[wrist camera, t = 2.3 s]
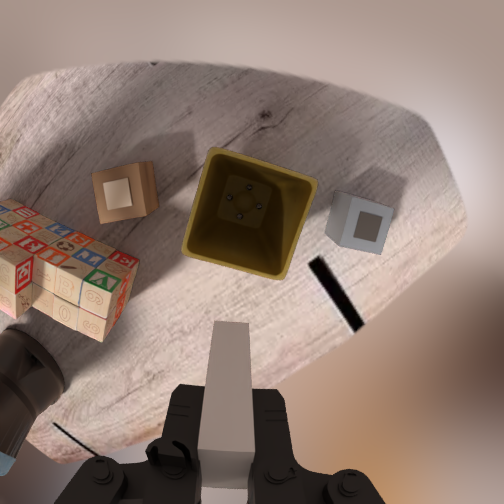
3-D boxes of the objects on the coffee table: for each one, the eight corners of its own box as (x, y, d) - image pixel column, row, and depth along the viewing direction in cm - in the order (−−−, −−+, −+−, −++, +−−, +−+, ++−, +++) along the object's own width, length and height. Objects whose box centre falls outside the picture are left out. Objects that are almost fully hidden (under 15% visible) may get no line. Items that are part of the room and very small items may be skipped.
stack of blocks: (141, 258, 32) (100, 310, 20) (129, 302, 34) (92, 363, 22) (10, 197, 28) (-53, 219, 16) (5, 239, 30) (-52, 271, 18)
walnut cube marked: (118, 213, 30) (99, 224, 25) (111, 170, 29) (90, 173, 24) (159, 206, 30) (146, 216, 25) (152, 161, 29) (137, 162, 24)
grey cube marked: (324, 232, 32) (339, 246, 28) (335, 190, 31) (353, 196, 26) (362, 241, 33) (381, 255, 28) (373, 200, 32) (395, 209, 27)
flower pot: (216, 148, 29) (209, 144, 20) (296, 173, 30) (321, 180, 22) (193, 227, 31) (179, 254, 23) (270, 249, 33) (283, 283, 24)
